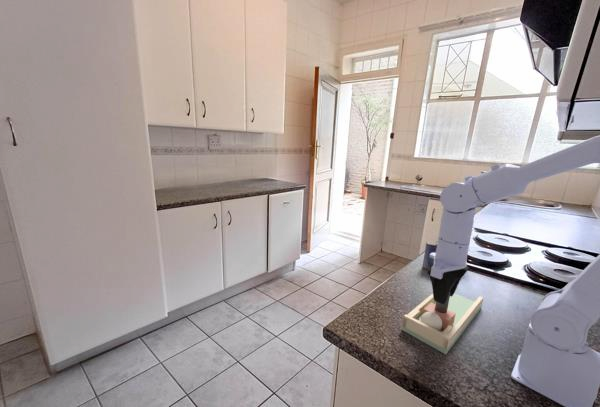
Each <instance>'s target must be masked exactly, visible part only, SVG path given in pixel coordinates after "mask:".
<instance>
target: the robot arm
mask: <svg viewBox="0 0 600 407" xmlns="http://www.w3.org/2000/svg"><path fill="white" fill-rule="evenodd" d="M591 164H593V165H594V164H600V135H599V134H598V135H596V136H593V137H591V138H588V139H585V140H583V141H581V142H579V143H576V144H573V145H571V146H569V147H565V148H564V149H561V150H559V151H556V152H553V153H551V154H548V155H545V156H544V157H541V158H538V159H535V160H534V161H530V162H529V163H526V164H523V165H521V166H518V165H516V164H513V163H506V164H505V163H504V164H503V165H502V164H501V163H496V164H493V165H491V166H490V170H488V171H485V172H482V173H480V174H477V175H475V176H472V175H468V176H466V177H464V182H451V183H450V184H449V185H447V186H445V187H444V188H443V189H442V191H441V193H440V196H439V197H440V198H439V200H440V203H441V205H442V207H443V209H442V213H441V219H440V226H439V233H438V238H437V242H436V243H437V249H436V253H431V254H430V256H429V257H430V258H433V259H434V265H433V266H431V267H430V268H428V270H427V275H428V276H429V280H430V282H431V288H432V294H433V297H434V301H437V302H439V303H441V304H445V302H446V301H447V298H448V296H449V293H450V296H451V297H452V296H453V294H454V293H455V294H456V290H457V289H458V285H459V284H460V282H461V280H462V279H463V277H464V276H465V274H466V273H467V272H468V271H469V269H470V267H469V266H468V262H467V259H468V254H469V249H470V242H471V237H472V231H473V227H474V222H475V221H474V220H475V219H474V218H475V215H476V209H477V208H478V207H479V206H480V205H481V206H486V205H489V204H491V203H496V202H498V201H502V200H504V199H505V200H506V199H507V198H512V197H515V196H518V195H522V194H523V193H524V192H525V190H526V189H527V187H528V185H529V184H530V183H533V182H536V181H539V180H543V179H546V178H549V177H550V178H551V177H552V176H553V177H554V176H555V175H559V174H563V173H566V172H569V171H572V170H575V169H579V168H582V167H585V166H589V165H591ZM599 319H600V253H599V254H598V255H597V256H596V257H595V258H594V259H593V260H592V261H591V262H590V263H589V264H588V265H587V266H586V267H585V268H584V269H583V270H582V271H581V272H580V273H579V274H578V275H576V277H574V278H573V279H572V280H571V281H569V282H568V283H567V284H566V285H565V286H564V287H562V288H561V289H559V290H554V291H550V292H548V293H547V294H546V295H544V296H543V298H542V300H541V303H540V305H539V306H538V308H537V309H536V310H535V311H534V312H533V313H532V315H531V316H530V322H529V323H528V327H527V330H526V334H525V339H524V342H523V345H522V349H521V353H520V354H518V356H517V359H516V361H515V364H514V367H513V369H512V372H511V374H510V377H511V378H512V379H513V380H514V381H516V382H518V383H519V384H522V385H523V386H525V387H527V388H528V389H531V390H533V391H534V392H537V393H538V394H540V395H542V396H544V397H546V398H548V399H550V401H551V400H552V401H553V402H556V403H558V405H561V406H563V407H593V405H594V402H595V401H596V399H597V397H598V393H599V388H600V352H598V351H596V350H595V349H593V348H591V347H590V346H589V343H588V341H587V340H588V332H589V330H590V328H592V326H594V325H595V324H596V323H597V322H598V320H599Z"/></svg>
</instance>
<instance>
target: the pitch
mask: <svg viewBox="0 0 600 407" xmlns="http://www.w3.org/2000/svg"><path fill="white" fill-rule="evenodd" d="M483 301H484V296H481V295H479V296H478V297H477V299H475V300H471V299H469V298H467V297H465V296H463V295H459V294H456V292H455V293H454V294H453V296H452V297H451V296H450V298H449V304H448V309H447V310H449V311H452V312H454V313H456V314H455V319H454V323H453V325H452V326H450V325H449V326H448V327H447V328H446V329H445V330H444V329H442V328H441V329H440V330H439V331H438V330H436V329H434V328H432V327H430V326H428V325H426V324H424V323H422V322H421V317H422V315H423V312H424V308H426V307H427V306H428V305H429V304H430V303H431V302H432V303H434V304H436V301H434V297H433V293H431V294H430V295H429V296H427V297H426V298H425V299H423V301H421V302H420V303H419V304H418V305H417V306H415V308H413V309H412V310H411V311H410V312H408V314H406V313H405V314H404V315H403V320H402V327H401V330H402V331H404V332H405V333H407V334H409V335H411V336H412V337H414V338H416V339H418V340H419V341H421V342H422V343H425V344H426V345H428V346H430V347H432V348H433V349H434V350H435V349H436V350H437V351H439V352H441V353H442V354H444V355H447V354H448V352H449V351H450V350H451V348H453V346H454V344H455V343H456V342H457V341H458V339H459V338H460V336H461V335H462V334H463V333H464V332H465V330H466V329H467V327H468V326H469V325H470V323H471V322H472V321H473V320H474V318H475V317H476V315H477V314H478V313H479V312H480V311H481V309H482V306H483Z"/></svg>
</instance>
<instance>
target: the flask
mask: <svg viewBox="0 0 600 407" xmlns="http://www.w3.org/2000/svg"><path fill="white" fill-rule="evenodd" d="M437 243H438V242H430V241H427V242H426V243H425V247H424V248H425V249H424V254H423V260H422V266H421V267H422V268H423V269H425V270H426V269H427V270H426V271H428V268H430V267H431V266H433V265H434V259H433V258H430V257H429V256H430V254H431V253H436V249H437Z"/></svg>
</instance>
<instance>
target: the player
mask: <svg viewBox="0 0 600 407" xmlns="http://www.w3.org/2000/svg"><path fill="white" fill-rule="evenodd" d="M449 298H450V293H449V296H448V298H447V301H446V302H445V304H441V303H439V302H437V301H436V304H434V303H432V302H431V303H430V304H429V305H428V306H427V307H426V308H424V312H423V314H424V313H426V312H434V313H436V314H437V315H439V317H440V318H441V320H442V327H441V328H442V329H444V330H445V329H446V328H447V327H448V326H449V325H450V326H452V325H453V323H454V319H455V314H456V313H454V312H452V311H449V310H447V309H448V304H449Z"/></svg>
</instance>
